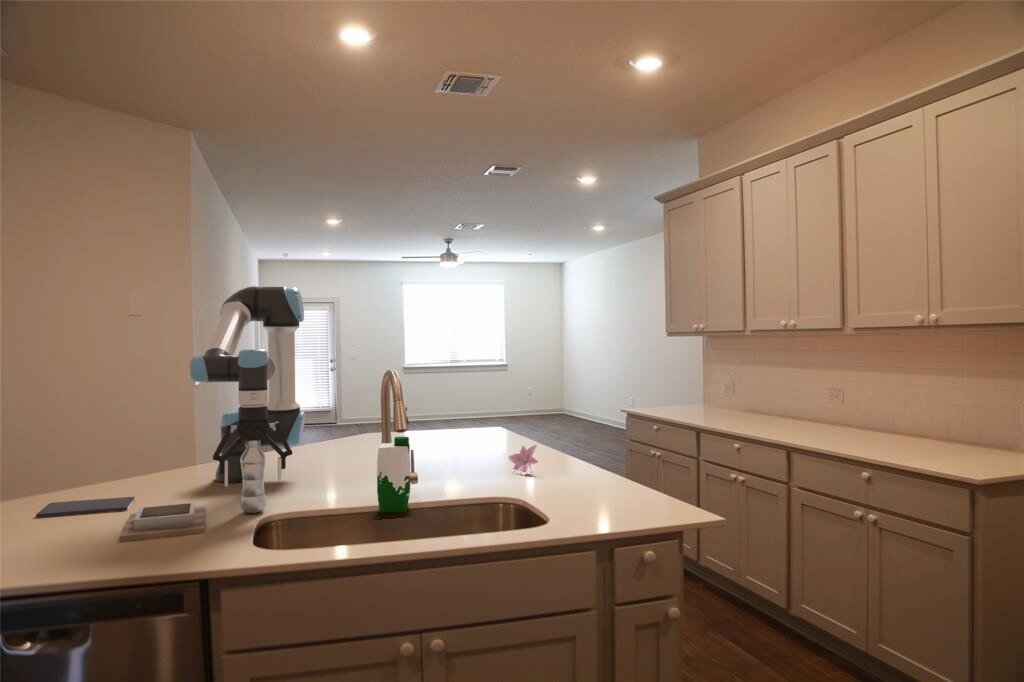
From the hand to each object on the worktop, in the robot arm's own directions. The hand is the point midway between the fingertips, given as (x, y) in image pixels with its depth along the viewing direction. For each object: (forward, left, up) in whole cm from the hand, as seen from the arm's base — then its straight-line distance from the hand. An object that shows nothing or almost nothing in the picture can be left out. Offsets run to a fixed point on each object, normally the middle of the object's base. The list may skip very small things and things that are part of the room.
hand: (253, 483), depth 182 cm
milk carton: (+12, +36, -8) cm, 39 cm away
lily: (-18, +90, -8) cm, 92 cm away
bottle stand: (+4, -21, -8) cm, 23 cm away
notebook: (-23, -42, -9) cm, 49 cm away
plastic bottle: (0, 0, -8) cm, 8 cm away
